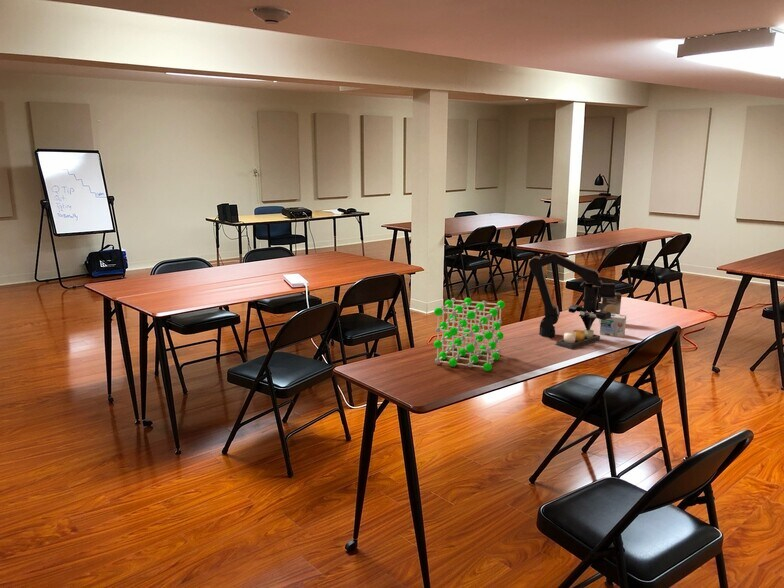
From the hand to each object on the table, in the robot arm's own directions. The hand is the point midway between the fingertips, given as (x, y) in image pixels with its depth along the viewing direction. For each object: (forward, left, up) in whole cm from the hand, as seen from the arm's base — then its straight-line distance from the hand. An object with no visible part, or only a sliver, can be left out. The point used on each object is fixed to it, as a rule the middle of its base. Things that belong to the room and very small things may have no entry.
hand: (588, 330), depth 275 cm
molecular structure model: (-18, -60, -6) cm, 62 cm away
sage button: (0, 0, -4) cm, 4 cm away
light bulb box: (+2, +16, -6) cm, 18 cm away
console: (0, -7, -6) cm, 9 cm away
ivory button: (0, -14, -3) cm, 14 cm away
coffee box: (-12, +36, -6) cm, 39 cm away
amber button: (0, -7, -3) cm, 8 cm away
